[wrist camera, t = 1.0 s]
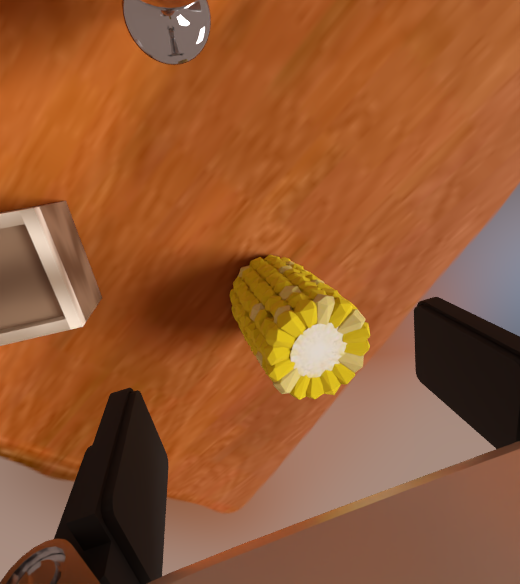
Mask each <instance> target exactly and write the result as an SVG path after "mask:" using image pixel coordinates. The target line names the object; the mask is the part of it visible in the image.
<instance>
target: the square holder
mask: <svg viewBox="0 0 520 584" xmlns="http://www.w3.org/2000/svg"><path fill="white" fill-rule="evenodd" d="M101 299H102V296H101V293H100V291H99V288H98V285H97V283H96V280H95V277H94V275H93V272H92V269H91V267H90V264H89V261H88V259H87V256H86V253H85V251H84V248H83V245H82V243H81V240H80V237H79V235H78V232H77V229H76V227H75V224H74V221H73V219H72V216H71V213H70V211H69V208H68V205H67V203H66V201H62V202H56V203H51V204H45V205H39V206H34V207H28V208H23V209H17V210H12V211H6V212H1V213H0V346H2V345H6V344H10V343H15V342H19V341H23V340H27V339H32V338H36V337H40V336H45V335H49V334H53V333H58V332H62V331H66V330H71V329H75V328H79V327H83V326H84V324H85V323H86V321H87V320H88V318H89V317H90V315H91V314H92V312H93V311H94V309H95V308H96V306H97V305H98V303H99V302H100V300H101Z"/></svg>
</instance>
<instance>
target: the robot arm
mask: <svg viewBox="0 0 520 584" xmlns="http://www.w3.org/2000/svg"><path fill="white" fill-rule="evenodd" d="M414 330H415V362H416V374H417V377H418V379H419V380H420V382H421V383H422V384H424V385H425V386H426V387H427V388H428V389H429V390H430V391H432V392H433V393H434V394H435V395H436V396H437V397H438V398H439V399H441V400H442V401H443V402H444V403H445V404H446V405H447V406H449V407H450V408H451V409H452V410H453V411H454V412H455V413H456V414H458V415H459V416H460V417H461V418H462V419H463V420H464V421H466V422H467V423H468V424H469V425H470V426H471V427H472V428H474V429H475V430H476V431H477V432H478V433H479V434H481V436H483V437H484V438H485V439H486V440H487V441H489V443H491V444H492V445H493V446H494V447H495V448H496V450H494V451H491V452H488V453H485V454H482V455H480V456H477V457H474V458H471V459H469V460H466V461H463V462H460V463H458V464H455V465H452V466H450V467H447V468H444V469H441V470H439V471H436V472H433V473H431V474H428V475H425V476H423V477H420V478H417V479H414V480H412V481H409V482H406V483H404V484H401V485H398V486H395V487H393V488H390V489H388V490H385V491H382V492H379V493H377V494H374V495H371V496H369V497H366V498H364V499H361V500H358V501H355V502H353V503H350V504H347V505H345V506H342V507H339V508H337V509H334V510H331V511H329V512H326V513H323V514H321V515H318V516H315V517H313V518H310V519H307V520H305V521H302V522H300V523H297V524H294V525H292V526H289V527H286V528H284V529H281V530H279V531H276V532H273V533H271V534H268V535H265V536H263V537H260V538H257V539H255V540H252V541H249V542H247V543H244V544H242V545H239V546H236V547H234V548H231V549H229V550H226V551H224V552H221V553H219V554H216V555H214V556H211V557H209V558H206V559H204V560H201V561H199V562H196V563H194V564H191V565H189V566H186V567H184V568H181V569H179V570H176V571H174V572H171V573H169V574H167V575H165V576H162V565H163V548H164V547H163V546H164V531H165V514H166V498H167V481H168V458H167V454H166V452H165V449H164V447H163V444H162V442H161V440H160V437H159V435H158V433H157V430H156V428H155V426H154V423H153V421H152V419H151V416H150V414H149V412H148V409H147V407H146V405H145V402H144V400H143V397H142V395H141V393H140V392H139V391H138V390H137V391H133V390H132V388H127V389H124V390H121V391H117V392H114V393H111V394H110V396H109V399H108V402H107V405H106V408H105V411H104V414H103V416H102V419H101V422H100V425H99V428H98V431H97V434H96V437H95V440H94V442H93V445H92V446H90V447H89V448H88V449H87V450H86V452H85V455H84V458H83V460H82V463H81V466H80V469H79V471H78V474H77V477H76V480H75V482H74V485H73V488H72V491H71V493H70V496H69V499H68V502H67V504H66V507H65V510H64V513H63V516H62V518H61V521H60V524H59V527H58V529H57V532H56V535H55V538H54V539H53V540H49V541H46V542H44V543H42V544H40V545H38V546H36V547H34V548H33V549H31V550H30V551H29V552H28V553H26V554H25V555H24V556H22V557H21V558H20V559H19V560H18V561H17V562H16V563H15V564H14V565H13V566H12V567H11V568H10V570H9V571H8V572H7V574H6V575H5V576H4V578H3V579H2V580H1V582H0V584H520V337H519V336H517V335H515V334H513V333H511V332H509V331H507V330H505V329H503V328H501V327H499V326H496V325H495V324H492V323H490V322H488V321H486V320H484V319H482V318H480V317H478V316H476V315H474V314H472V313H470V312H468V311H466V310H464V309H461V308H459V307H457V306H455V305H453V304H451V303H449V302H447V301H445V300H443V299H441V298H438V297H434V298H430V299H426V300H423V301H420V302H419V303H418V305H417V307H416V308H415V309H414Z"/></svg>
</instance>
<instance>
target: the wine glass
mask: <svg viewBox="0 0 520 584" xmlns="http://www.w3.org/2000/svg"><path fill="white" fill-rule="evenodd" d="M123 11H124V17H125V21H126V25H127V27H128V30H129V32H130V34H131V36H132V37H133V39H134V41H135V42H136V43H137V45H138V46H139V47H140V48H141V49H142V50H143V51H144V52H145V53H146V54H147V55H149V56H150V57H152V58H153V59H155V60H157V61H159V62H162V63H166V64H173V65H176V64H183V63H186V62H189V61H190V60H192V59H194V58H195V57H196V56H197V55H198V54H199V53H200V52H201V51H202V49H203V48H204V46H205V44H206V42H207V40H208V36H209V33H210V25H211V19H210V10H209V5H208V2H207V0H123Z"/></svg>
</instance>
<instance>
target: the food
mask: <svg viewBox="0 0 520 584" xmlns="http://www.w3.org/2000/svg"><path fill="white" fill-rule="evenodd" d="M230 299H231V300H230V301H231V303H232V307H231V309H232V313H233V317H234V318H235V320H236V321H237V322H238V325H239V328H240V330H241V332H242V334H243V335H244V338H245V340H246V341H247V342H248V345H250V346H251V351H253V354H254V355H255V356H256V357H257V360H258V361H259V363H260V365H261V366H262V368H263V369H264V370H265V372H266V374H267V375H268V376H269V378H270V379H271V380H272V381H273V385H274V386H275V387H276V389H277V390H278V391H279V392H280V393H281V394H285V393H290V394H291V395H292V396H293V397H295V398H297V399H299V400H300V399H302V398H304V397H309V398H313V399H316V398H318V397H319V396H321V395H322V394H332V395H334V394H335V393H336V391H337V390H338V388H339V387H340V385H341V384H348V383H349V382H350V380H351V379H352V378H353V377H354V376H355V373H354V372H357V371H358V370H359V369H360V368H362V367H363V358H364V354H365V353H366V352H367V351H368V350H369V348H370V345H369V343H368V341H367V339H368V338H369V336H370V331H369V325H368V323H366V322H365V320H366V319H365V318H364V317H363V315H362V314H361V313H360V312H359V311H358V310H357V308H356V307H355V306H354V305H353V304H352V303H351V302H350V301H349V300H347V299H344V298H343V297H342V296H341V295H340V294H339V293H338V291H337V290H334V289H332V288H331V287H329V285H326V284H324V282H323V281H321V280H320V279H319V278H317V277H316V276H314V275H313V274H312V273H311V272H308V271H307V270H304V268H303V266H301V265H298V264H295V263H294V262H292V261H291V260H290V259H289V258H286V257H282V258H279V257H277V256H273V255H269V256H267V257H266V258H265V259H262V258H261V257H258V258H256V259H254V260H251V261H250V265H249V266H245V267H241V269H240V272H239V275H238V276H237V278H236V279H235V281H234V282H233V289H232V290H230Z"/></svg>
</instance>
